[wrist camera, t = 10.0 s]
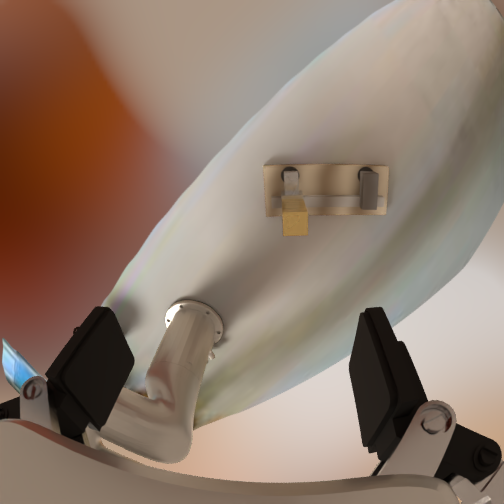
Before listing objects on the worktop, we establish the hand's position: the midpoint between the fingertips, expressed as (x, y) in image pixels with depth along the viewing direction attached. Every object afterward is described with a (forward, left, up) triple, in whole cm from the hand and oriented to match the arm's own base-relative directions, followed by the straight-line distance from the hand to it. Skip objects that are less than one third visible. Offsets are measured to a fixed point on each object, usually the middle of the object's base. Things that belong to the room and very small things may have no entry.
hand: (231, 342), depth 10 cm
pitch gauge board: (-6, -8, -36) cm, 38 cm away
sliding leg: (-4, -3, -34) cm, 35 cm away
